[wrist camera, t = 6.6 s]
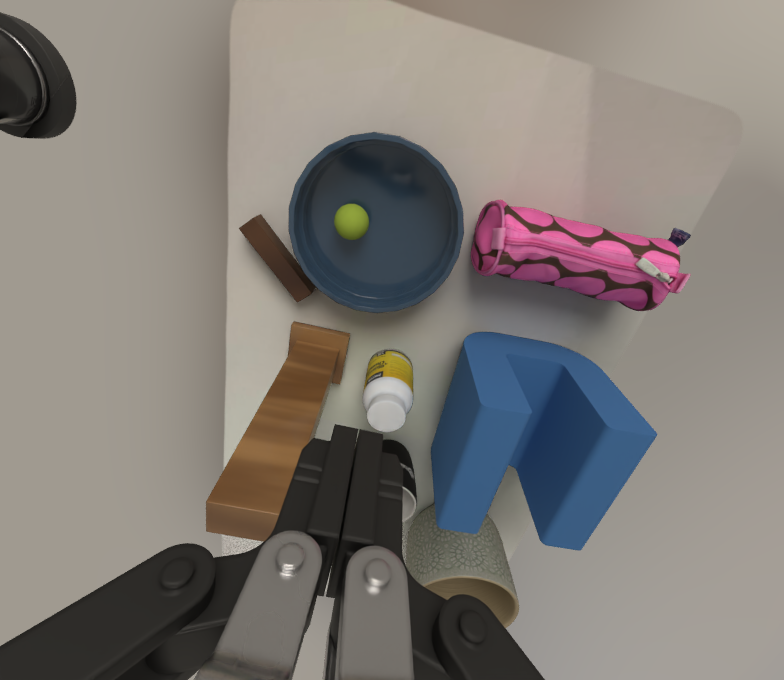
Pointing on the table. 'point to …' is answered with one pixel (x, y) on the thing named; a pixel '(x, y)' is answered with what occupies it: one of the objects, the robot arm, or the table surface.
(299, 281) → the stick
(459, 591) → the planter
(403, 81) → the table surface
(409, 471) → the mug
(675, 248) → the pencil case
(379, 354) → the pill bottle
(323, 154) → the bowl
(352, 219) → the grape
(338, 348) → the stand
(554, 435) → the block
